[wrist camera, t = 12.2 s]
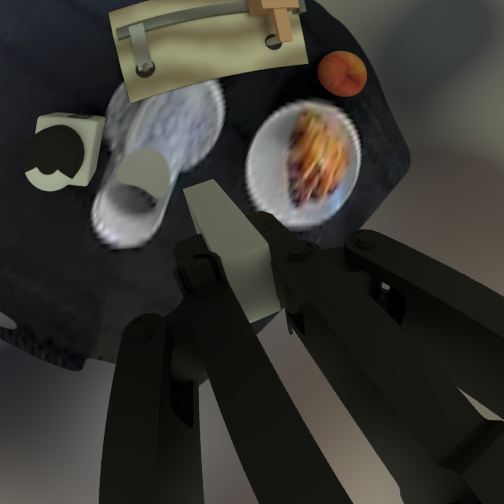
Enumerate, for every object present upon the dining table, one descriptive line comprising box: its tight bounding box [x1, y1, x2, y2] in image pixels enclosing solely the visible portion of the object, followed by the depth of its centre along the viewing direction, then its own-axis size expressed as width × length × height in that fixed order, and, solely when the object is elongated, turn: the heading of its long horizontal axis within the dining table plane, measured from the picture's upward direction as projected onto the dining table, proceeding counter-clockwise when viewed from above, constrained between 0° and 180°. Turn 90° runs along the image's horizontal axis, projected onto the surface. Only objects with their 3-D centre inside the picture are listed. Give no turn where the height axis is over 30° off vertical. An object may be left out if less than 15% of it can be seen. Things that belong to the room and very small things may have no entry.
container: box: [23, 112, 105, 191], centre depth 27 cm, size 8×8×13 cm
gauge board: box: [109, 0, 308, 103], centre depth 30 cm, size 14×26×4 cm, turn 102°
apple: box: [317, 51, 367, 96], centre depth 36 cm, size 7×7×8 cm
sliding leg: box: [247, 0, 299, 46], centre depth 29 cm, size 8×5×6 cm, turn 12°
